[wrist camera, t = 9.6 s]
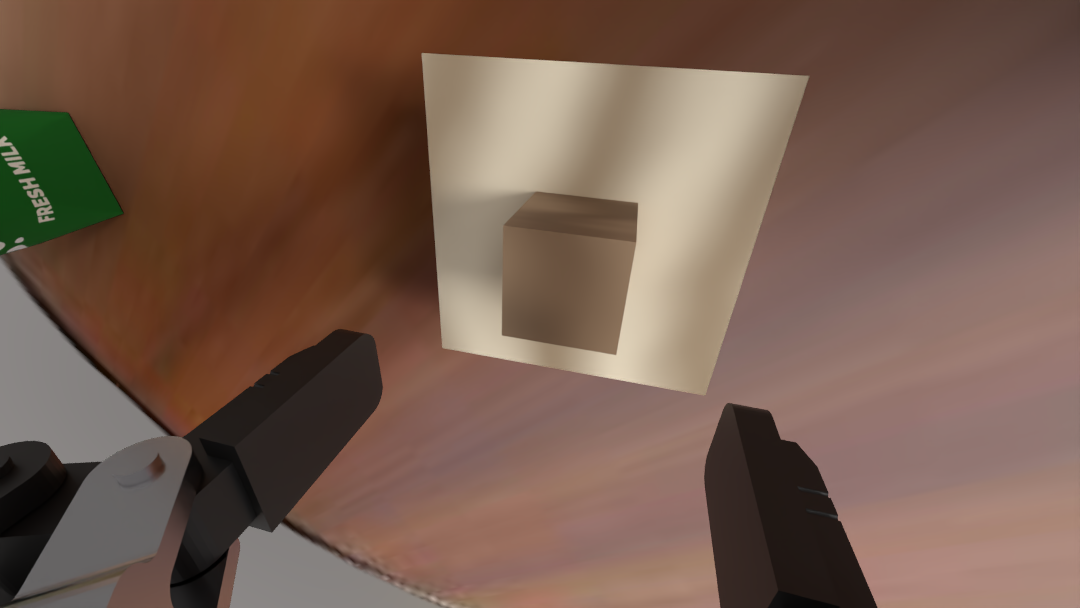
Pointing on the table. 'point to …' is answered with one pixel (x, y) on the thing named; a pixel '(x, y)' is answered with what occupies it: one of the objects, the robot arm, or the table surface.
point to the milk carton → (47, 180)
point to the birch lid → (599, 209)
